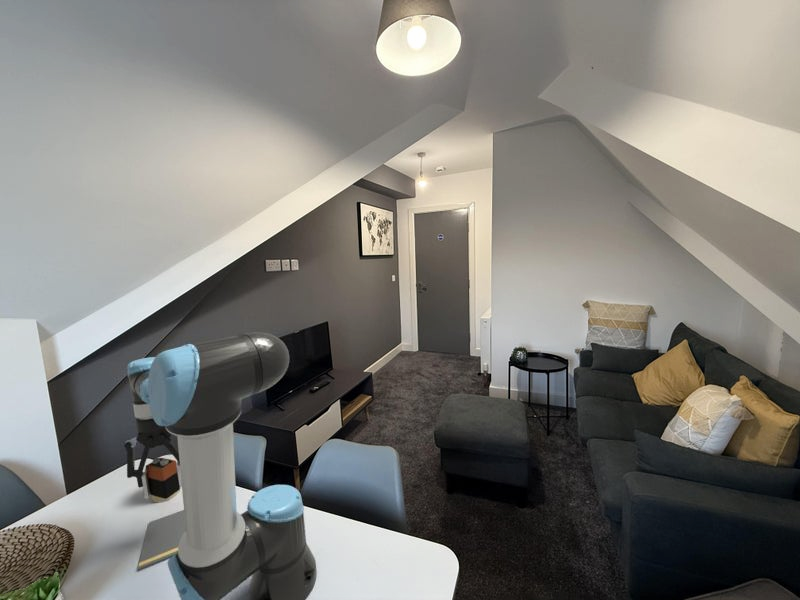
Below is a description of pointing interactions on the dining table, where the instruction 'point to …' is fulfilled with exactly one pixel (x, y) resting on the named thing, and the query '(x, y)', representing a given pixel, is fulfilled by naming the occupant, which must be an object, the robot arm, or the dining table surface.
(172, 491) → the battery
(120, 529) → the dining table surface
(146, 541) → the book
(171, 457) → the coffee cup
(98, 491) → the dining table surface
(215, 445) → the robot arm
